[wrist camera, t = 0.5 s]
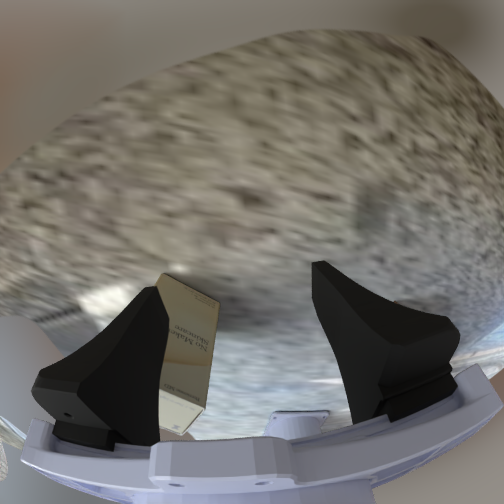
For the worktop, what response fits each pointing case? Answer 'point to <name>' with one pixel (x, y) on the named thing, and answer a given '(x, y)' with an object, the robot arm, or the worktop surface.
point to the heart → (4, 467)
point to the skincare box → (185, 354)
